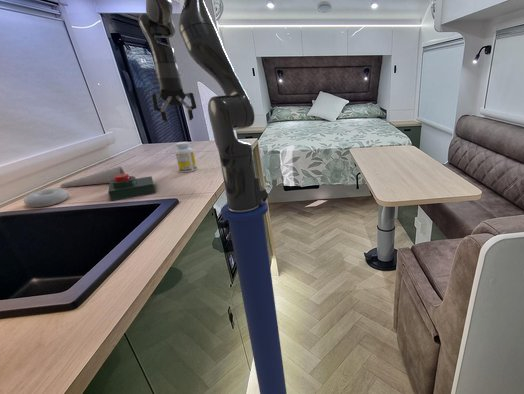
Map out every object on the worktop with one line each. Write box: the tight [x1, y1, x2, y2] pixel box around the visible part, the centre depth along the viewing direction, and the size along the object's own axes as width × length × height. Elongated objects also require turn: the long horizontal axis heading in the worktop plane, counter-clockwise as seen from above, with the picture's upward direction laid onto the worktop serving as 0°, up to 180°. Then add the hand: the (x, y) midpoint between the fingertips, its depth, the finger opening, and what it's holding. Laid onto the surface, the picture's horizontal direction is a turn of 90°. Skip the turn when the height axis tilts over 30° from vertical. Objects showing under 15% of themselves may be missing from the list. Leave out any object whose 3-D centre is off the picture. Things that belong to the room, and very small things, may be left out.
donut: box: [23, 187, 69, 208], centre depth 90 cm, size 10×4×10 cm
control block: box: [107, 175, 156, 202], centre depth 98 cm, size 12×10×5 cm
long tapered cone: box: [59, 166, 126, 188], centre depth 104 cm, size 6×6×19 cm
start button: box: [114, 173, 130, 182], centre depth 96 cm, size 4×4×2 cm
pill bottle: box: [174, 141, 198, 173], centre depth 120 cm, size 6×6×12 cm
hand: (178, 121), depth 114 cm, fingers open, 8 cm apart
